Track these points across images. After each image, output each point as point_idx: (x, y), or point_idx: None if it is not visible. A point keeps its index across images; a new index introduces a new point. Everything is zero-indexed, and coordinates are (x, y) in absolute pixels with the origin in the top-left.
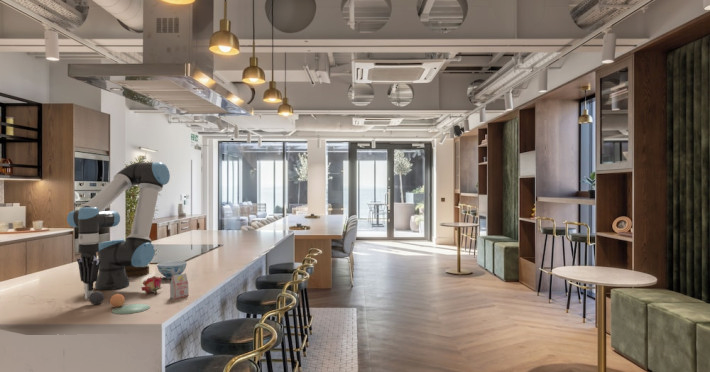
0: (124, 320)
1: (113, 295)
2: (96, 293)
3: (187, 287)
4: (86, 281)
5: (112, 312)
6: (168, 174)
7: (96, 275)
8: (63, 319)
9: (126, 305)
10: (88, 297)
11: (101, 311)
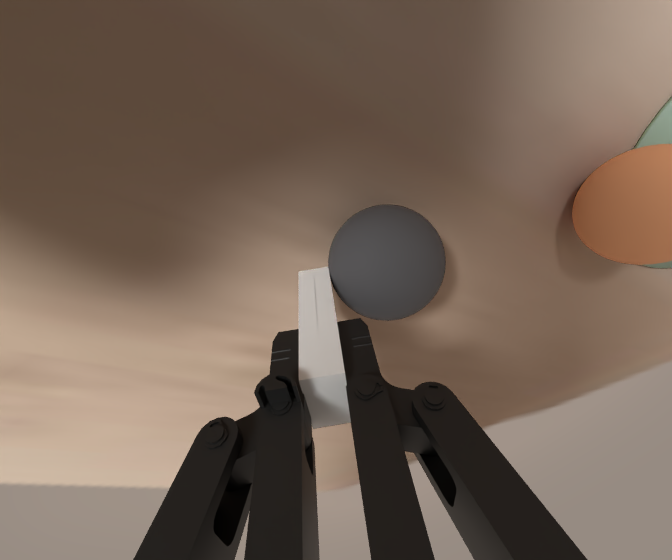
0: None
1: (666, 256)
2: (427, 301)
3: None
4: (311, 435)
5: (645, 265)
6: None
7: (513, 484)
8: (480, 408)
9: (660, 129)
10: (334, 304)
11: (556, 288)
